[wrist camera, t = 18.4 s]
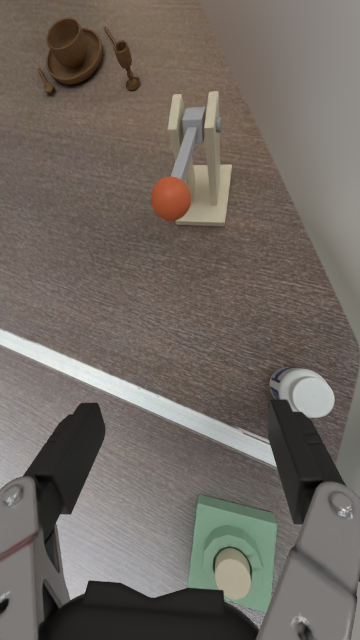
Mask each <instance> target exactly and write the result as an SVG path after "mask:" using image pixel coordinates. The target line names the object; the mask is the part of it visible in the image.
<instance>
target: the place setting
mask: <svg viewBox="0 0 360 640" xmlns="http://www.w3.org/2000/svg"><path fill="white" fill-rule="evenodd" d="M105 30H106V32H107V34H108V35H109V37H110V38H111V40H112V41H113V43H114V44H115V46H114V51H115V54H116V57H117V59H118V62H119V64H120V65H121V67H122V68H125V69H126V71H127V76H128V78H129V80H128V81H127V83H126V87H127V89H128V90H130V91H134V90H136V89H138V87H139V86H140V80H139V78H137V77H133V73H132V71H131V70H130V66H131V63H132V58H131V54H130V50H129V47H128V44H127V42H126V41H124V40H122V41H119V42H116V41H115V39H114V38H113V36H112V35H111V33H110V32H109V31H108V29H107V28H106V27H105ZM46 40H47V44H48V46H49V48H50V49H49V51H48V54H47V58H46V66H47V69H48V71H49V73H50V74H51V76H52V77H53V78H54V79H55V80H57V81H58V82H60V83H63V84H70V85H71V84H77V83H80V82H82V81H84V80H86V79H88V78H89V77H90V76H91V75H92V74H93V73H94V72H95V71H96V69H97V68H98V66H99V64H100V62H101V59H102V44H101V41H100V38H99V36H98V35H97V33H95V32H94V31H93V30H91V29H87V28H81V27H80V24H79V22H78V21H77V20H75V19H73V18H64V19H61V20H59V21H57V22H56V23H55V24H53V25H52V27H51V28H50V29H49V31H48V34H47V39H46ZM38 71H39V73H40V75H41V77H42V79H43V80H44V90H45V91H46V92H48V93H51V92H52V91H53V86H52V84H51V83H50V82H47V81H46V79H45V77H44V75H43V73H42V71H41V69H40V68H38Z"/></svg>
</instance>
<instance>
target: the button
mask: <svg viewBox="0 0 360 640" xmlns="http://www.w3.org/2000/svg"><path fill="white" fill-rule="evenodd" d="M215 581H216V584H217V587H218V589H219V590H224V595H225V596H226V597H228V598H230V599H234V600H238V599H242V598H243V597H245V596H246V595H247V594H248V592H249V590H250V587H251V577H250V568H249V564H248V561H247V559H246V557H245V556H244V555H243V554H242V553H241V552H240V551H239V550H237V549H234V548H225V549H223V550H221V551H220V552H219V554H218V555H217V557H216V561H215Z"/></svg>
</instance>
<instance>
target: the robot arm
mask: <svg viewBox="0 0 360 640" xmlns="http://www.w3.org/2000/svg"><path fill="white" fill-rule="evenodd" d="M267 431H268V437H269V441H270V445H271V448H272V452H273V455H274V458H275V462H276V465H277V469H278V472H279V475H280V479H281V482H282V486H283V489H284V492H285V496H286V499H287V503H288V506H289V509H290V513H291V516H292V520H293V523H294V524H303V525H302V528H301V530H300V533H299V536H298V538H297V541H296V543H295V546H294V547H292V548H291V550H290V552H289V555H288V557H287V560H286V562H285V565H284V567H283V570H282V573H281V575H280V578H279V580H278V583H277V586H276V588H275V591H274V593H273V596H272V599H271V601H270V604H269V606H268V609H267V612H266V614H265V617H264V620H263V622H262V625H261V627H260V630H259V629H258V627H257V626H256V625H255V624H254V623H253V622H252V621H251V620H250V619H249V618H248V617H247V616H246V615H245V614H244V613H242V612H241V611H240V610H238V609H237V608H235V607H234V606H232V605H230V604H228V603H226V602H224V590H214V589H200V588H186V589H183V590H180V591H176V592H173V593H170V594H166V595H163V596H160V597H156V598H150V597H148V596H146V595H144V594H142V593H140V592H138V591H136V590H134V589H132V588H130V587H128V586H126V585H124V584H122V583H115V582H101V581H89V582H88V585H87V588H86V591H85V594H82V595H80V596H78V597H76V598H74V599H72V600H70V597H69V593H68V590H67V587H66V584H65V580H64V574H63V567H62V559H61V552H60V544H59V537H58V529H57V525H56V522H57V519H58V517H59V515H60V514H71V513H72V511H73V508H74V506H75V504H76V502H77V499H78V497H79V495H80V492H81V490H82V488H83V486H84V483H85V481H86V479H87V477H88V474H89V472H90V470H91V467H92V465H93V463H94V461H95V458H96V456H97V454H98V452H99V449H100V447H101V445H102V442H103V440H104V437H105V424H104V421H103V418H102V414H101V411H100V407H99V405H98V403H81V404H79V406H78V407H77V409H76V410H75V412H74V413H73V414H69V415H68V416H67V417H66V418H65V419H64V420H62V421H61V422H60V423H59V424H58V426H57V427H56V429H55V430H54V432H53V435H51V436H50V438H49V439H48V440H47V443H45V445H44V446H43V448H42V449H41V451H40V452H39V454H38V455H37V456H36V458H35V459H34V461H33V462H32V464H31V465H30V467H29V468H28V470H27V471H26V472H25V474H24V475H23V477H19V478H16V479H14V480H12V481H10V482H9V483H7V484H6V485H5V486H4V487H2V488H1V489H0V640H351V635H352V629H353V623H354V617H355V611H356V604H357V596H356V593H357V586H358V581H359V582H360V497H359V496H358V495H357V494H356V493H355V492H354V491H353V490H351V489H350V488H348V487H347V486H346V485H345V483H344V481H343V480H342V478H341V476H340V474H339V472H338V470H337V468H336V466H335V464H334V463H333V461H332V459H331V457H330V455H329V453H328V451H327V449H326V447H325V445H324V444H323V443H322V440H321V438H320V436H319V434H318V433H317V430H316V428H315V426H314V425H313V423H312V421H311V420H310V419H309V418H308V417H307V416H306V415H305V414H304V413H302V412H293V411H292V409H291V406H290V404H289V402H288V400H287V399H279V400H269V401H268V418H267Z"/></svg>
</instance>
